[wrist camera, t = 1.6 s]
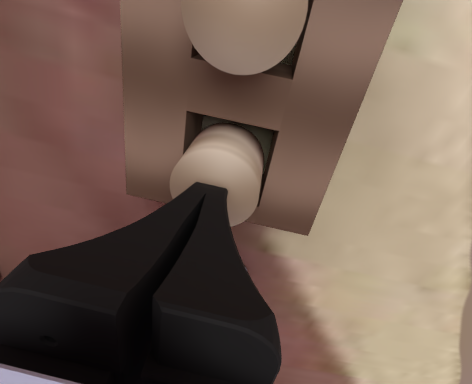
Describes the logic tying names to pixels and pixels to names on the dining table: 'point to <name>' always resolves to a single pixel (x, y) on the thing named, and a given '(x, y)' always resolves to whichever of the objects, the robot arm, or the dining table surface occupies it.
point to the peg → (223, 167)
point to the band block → (250, 100)
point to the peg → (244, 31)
